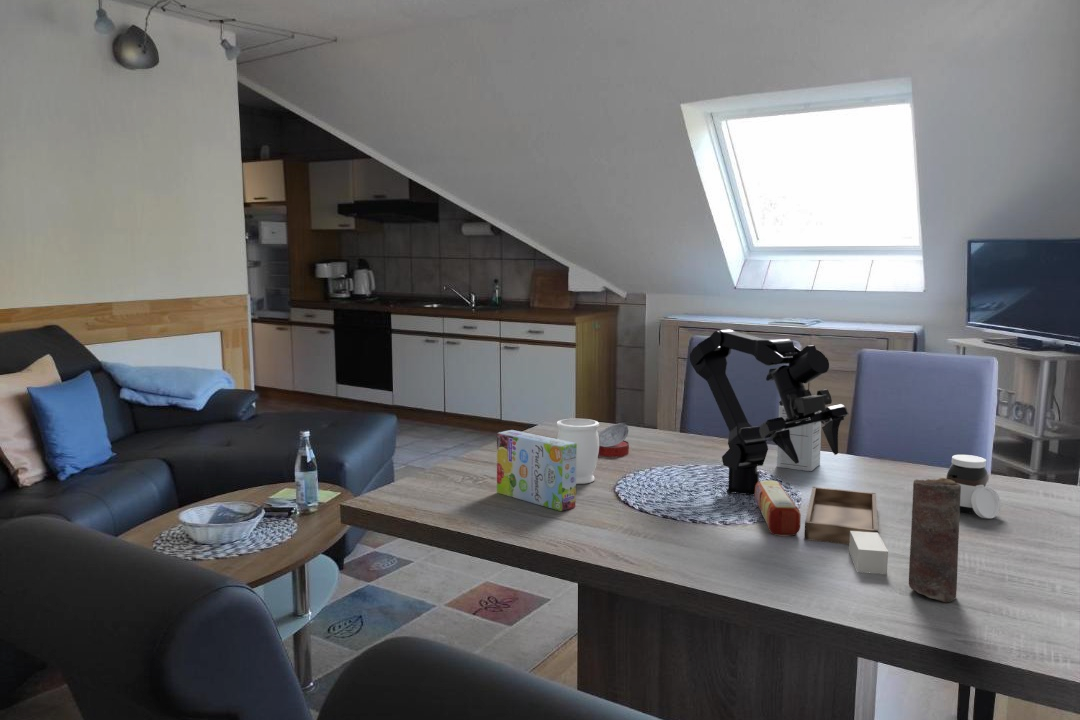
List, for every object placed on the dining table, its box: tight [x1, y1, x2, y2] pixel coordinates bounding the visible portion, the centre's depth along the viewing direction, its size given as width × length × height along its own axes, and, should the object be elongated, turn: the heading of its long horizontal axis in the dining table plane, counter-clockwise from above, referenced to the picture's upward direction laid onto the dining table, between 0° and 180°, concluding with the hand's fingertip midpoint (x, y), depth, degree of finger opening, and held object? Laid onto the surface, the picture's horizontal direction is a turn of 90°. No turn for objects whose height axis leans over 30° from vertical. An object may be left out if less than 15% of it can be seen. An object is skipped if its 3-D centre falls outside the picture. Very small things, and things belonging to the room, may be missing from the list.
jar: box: [556, 417, 600, 485], centre depth 205 cm, size 11×10×15 cm
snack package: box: [754, 479, 802, 537], centre depth 176 cm, size 21×7×7 cm, turn 173°
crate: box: [803, 486, 879, 545], centre depth 174 cm, size 14×27×4 cm, turn 159°
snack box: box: [496, 429, 577, 512], centre depth 189 cm, size 21×6×15 cm, turn 47°
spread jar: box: [945, 454, 1002, 519], centre depth 181 cm, size 12×11×12 cm
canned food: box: [598, 422, 630, 458], centre depth 233 cm, size 11×10×10 cm
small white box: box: [848, 531, 889, 575], centre depth 152 cm, size 5×10×4 cm, turn 168°
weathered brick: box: [908, 477, 961, 603], centre depth 137 cm, size 8×7×20 cm
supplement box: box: [776, 405, 822, 472], centre depth 219 cm, size 10×9×17 cm
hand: (817, 458), depth 175 cm, fingers open, 9 cm apart
